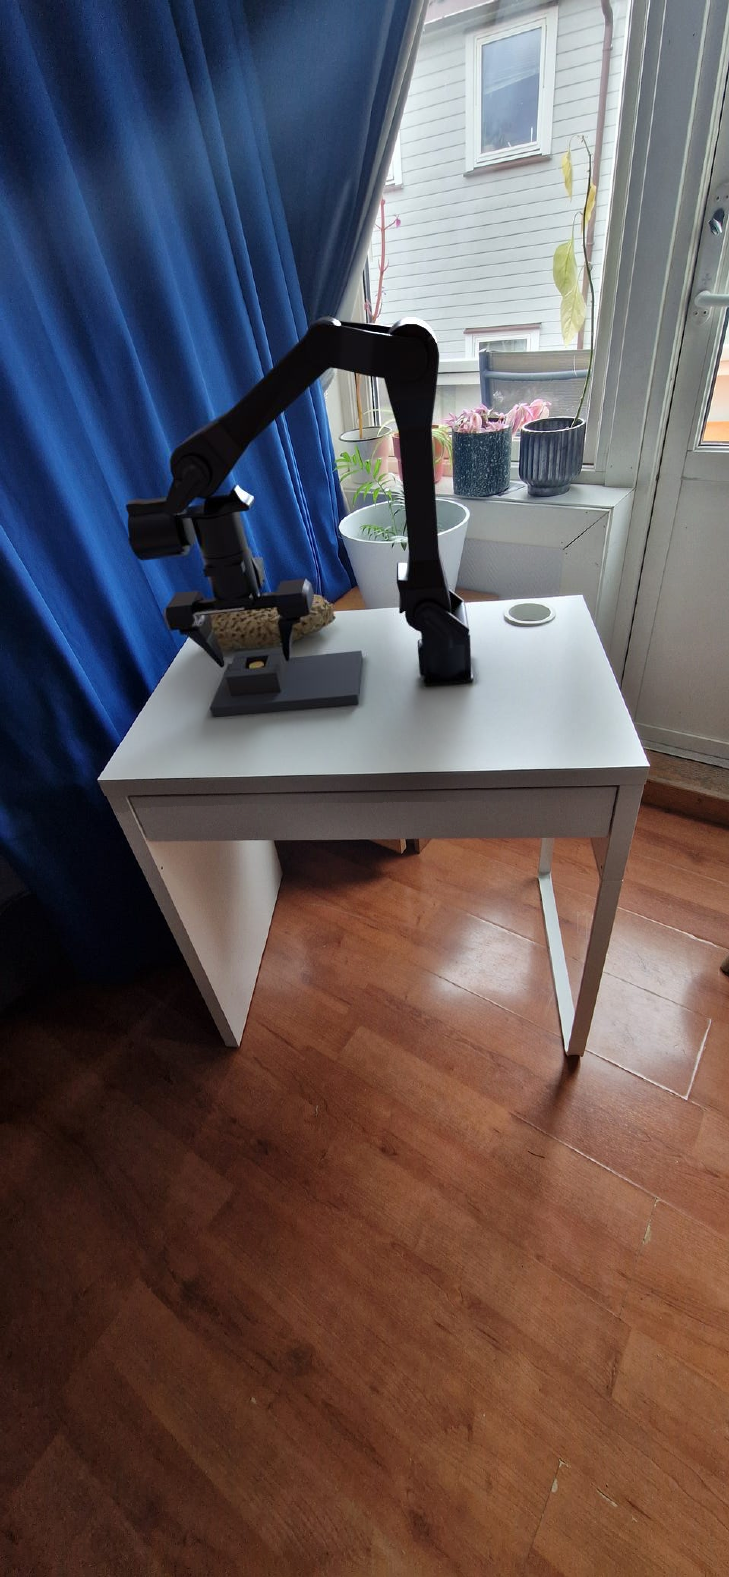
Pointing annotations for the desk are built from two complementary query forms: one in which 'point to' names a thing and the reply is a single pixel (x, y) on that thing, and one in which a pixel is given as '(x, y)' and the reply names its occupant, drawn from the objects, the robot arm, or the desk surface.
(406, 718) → the desk surface
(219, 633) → the sponge
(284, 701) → the base pad
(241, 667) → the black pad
